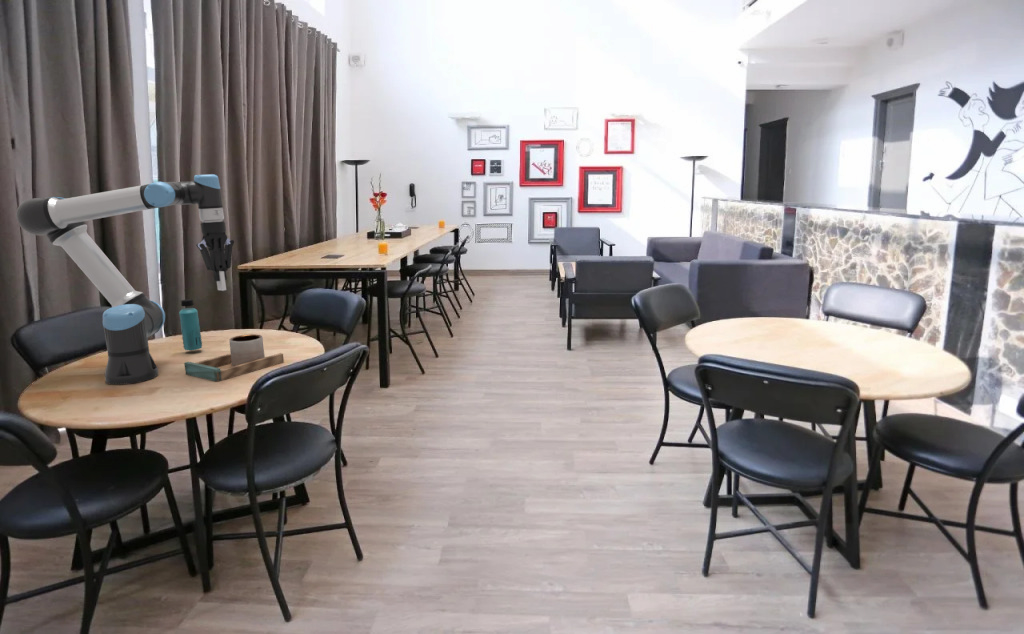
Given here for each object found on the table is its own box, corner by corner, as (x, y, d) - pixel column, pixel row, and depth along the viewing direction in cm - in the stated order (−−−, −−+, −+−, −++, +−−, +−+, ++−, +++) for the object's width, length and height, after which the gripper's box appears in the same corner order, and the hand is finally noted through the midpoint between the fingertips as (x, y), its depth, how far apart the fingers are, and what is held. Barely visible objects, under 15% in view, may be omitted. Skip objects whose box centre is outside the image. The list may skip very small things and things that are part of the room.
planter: (224, 366, 226) (221, 339, 224) (250, 358, 236) (247, 332, 234) (246, 370, 221) (244, 342, 219) (272, 362, 231) (269, 335, 229)
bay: (217, 381, 209) (216, 369, 208) (185, 374, 218) (184, 362, 217) (283, 361, 231) (282, 350, 230) (252, 355, 239) (251, 345, 239)
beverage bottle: (198, 354, 243) (191, 301, 239) (180, 354, 243) (173, 301, 239) (206, 349, 250) (200, 298, 245) (189, 349, 250) (182, 298, 246)
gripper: (201, 222, 214) (211, 293, 219) (236, 219, 225) (245, 287, 230) (187, 222, 218) (198, 292, 223) (223, 219, 229) (232, 286, 234)
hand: (222, 290), depth 226 cm, fingers closed
